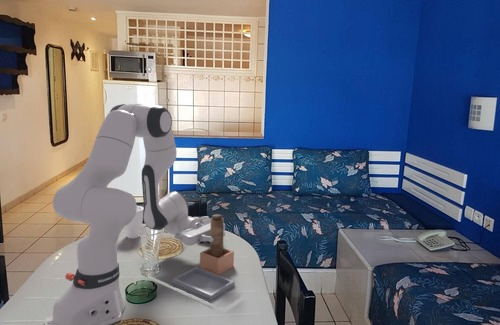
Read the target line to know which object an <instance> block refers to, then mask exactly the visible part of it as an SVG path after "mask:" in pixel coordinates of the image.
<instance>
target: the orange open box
mask: <svg viewBox="0 0 500 325" xmlns="http://www.w3.org/2000/svg"><path fill="white" fill-rule="evenodd" d="M234 257H235V251H234V250H231V249H227V248H224V247H223V256H221V257H219V258H217V257H214V256H211V255H210V247H209V248H208V249H205V250H203V251H201V252H200V253H199V268H201V269H203V270H206V271H209V272H211V273H214V274H217V275H219V276H220V275H221V274H222V273H224V272H226V271H228V270H229V269H232V268H233V267H234V266H235V265H234V263H235V262H234V261H235V260H234V259H235V258H234Z"/></svg>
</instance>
